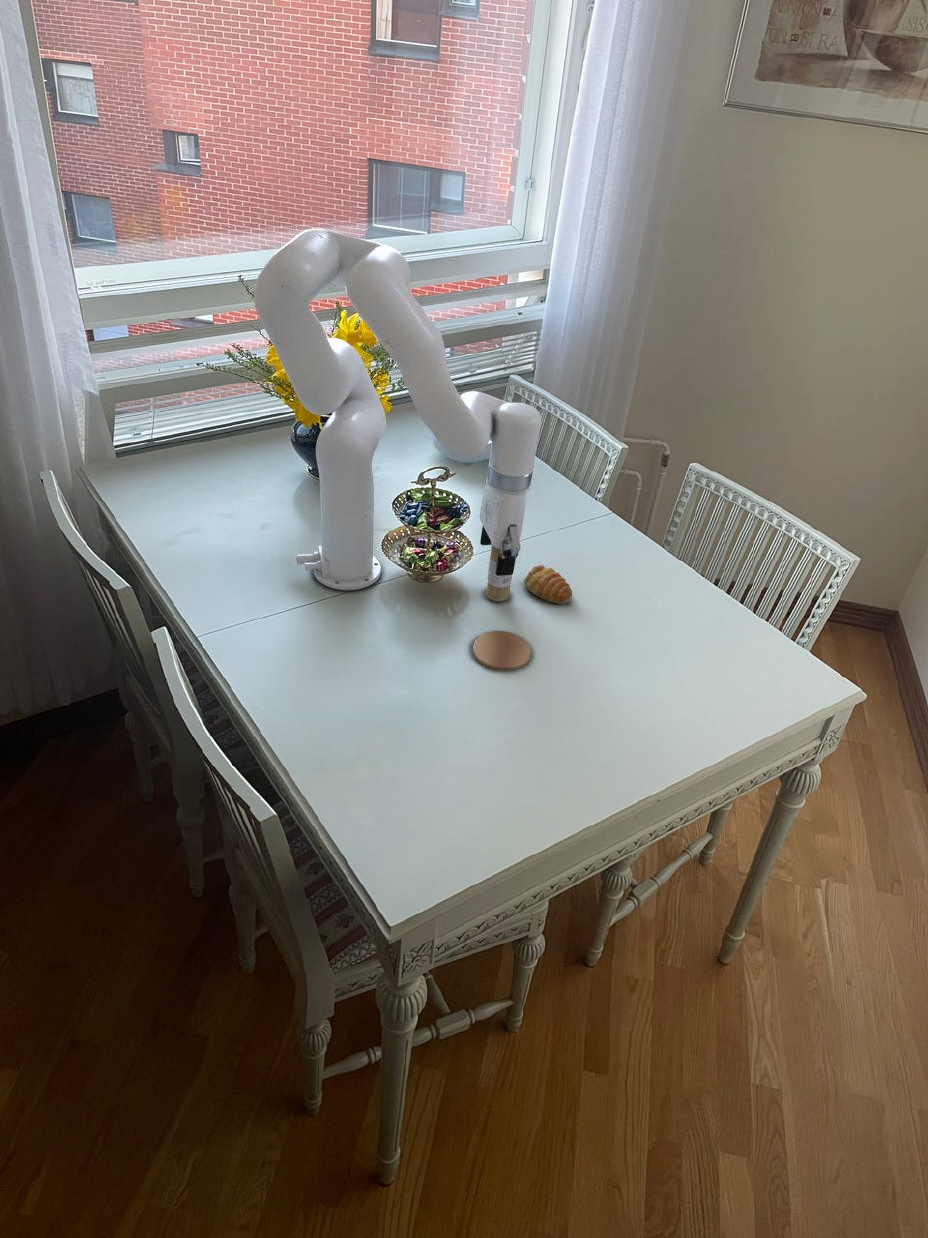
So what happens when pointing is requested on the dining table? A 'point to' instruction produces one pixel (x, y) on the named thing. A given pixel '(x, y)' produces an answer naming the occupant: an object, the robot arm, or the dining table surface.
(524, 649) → the copper coaster
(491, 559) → the sprinkles bottle
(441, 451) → the cereal bowl
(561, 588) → the pastry
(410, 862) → the dining table surface
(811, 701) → the dining table surface
